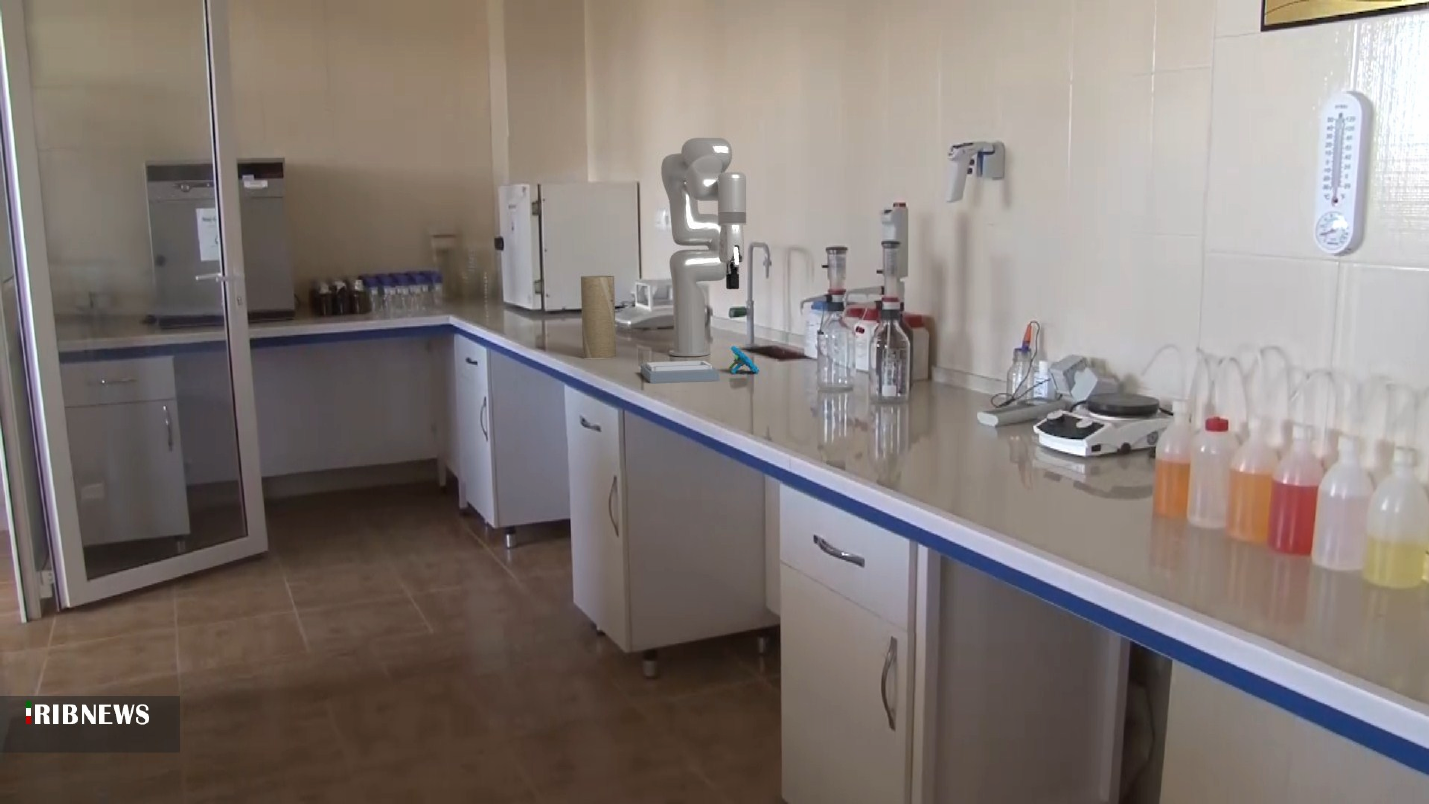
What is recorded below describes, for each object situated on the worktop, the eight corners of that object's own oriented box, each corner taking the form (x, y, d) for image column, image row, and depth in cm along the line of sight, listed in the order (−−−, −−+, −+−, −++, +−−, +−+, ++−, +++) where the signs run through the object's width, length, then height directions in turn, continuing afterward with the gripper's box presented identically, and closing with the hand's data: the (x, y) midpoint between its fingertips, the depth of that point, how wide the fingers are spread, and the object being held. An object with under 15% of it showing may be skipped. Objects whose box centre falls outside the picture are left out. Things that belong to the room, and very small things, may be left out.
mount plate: (640, 373, 315) (640, 360, 314) (705, 371, 318) (705, 358, 318) (650, 383, 296) (650, 369, 295) (719, 380, 299) (719, 367, 298)
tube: (618, 357, 354) (616, 275, 350) (612, 361, 344) (610, 277, 340) (586, 357, 355) (584, 275, 351) (579, 360, 345) (577, 277, 341)
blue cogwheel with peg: (765, 371, 308) (740, 345, 305) (750, 387, 307) (725, 361, 304) (752, 367, 318) (729, 341, 315) (738, 382, 318) (714, 357, 315)
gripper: (712, 219, 311) (713, 287, 314) (724, 219, 297) (725, 290, 300) (739, 219, 313) (739, 287, 316) (752, 219, 298) (752, 290, 301)
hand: (732, 288), depth 308 cm, fingers closed
